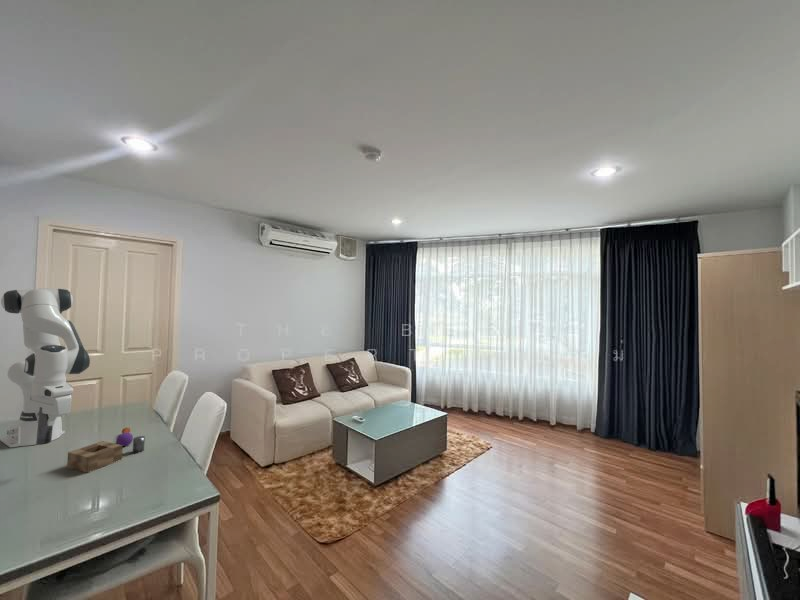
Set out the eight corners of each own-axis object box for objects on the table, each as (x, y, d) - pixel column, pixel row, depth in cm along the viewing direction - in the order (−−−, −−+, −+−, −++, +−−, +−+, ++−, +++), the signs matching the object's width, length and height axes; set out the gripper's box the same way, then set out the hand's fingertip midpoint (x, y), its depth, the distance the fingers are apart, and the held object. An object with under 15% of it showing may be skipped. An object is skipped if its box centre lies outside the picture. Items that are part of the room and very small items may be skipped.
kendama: (135, 424, 166) (134, 434, 151) (131, 437, 165) (130, 448, 150) (120, 424, 163) (118, 434, 147) (116, 437, 162) (113, 448, 146)
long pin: (33, 443, 123) (37, 406, 124) (47, 439, 127) (50, 404, 128) (40, 445, 122) (43, 408, 123) (53, 441, 126) (57, 405, 127)
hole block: (66, 467, 129) (68, 452, 129) (102, 455, 141) (102, 441, 141) (87, 473, 126) (88, 457, 126) (121, 459, 137) (122, 445, 137)
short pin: (130, 452, 144) (131, 438, 144) (139, 448, 148) (140, 435, 148) (136, 453, 143) (137, 440, 143) (146, 450, 147) (146, 436, 147)
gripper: (21, 386, 125) (17, 422, 125) (55, 393, 120) (51, 431, 119) (42, 382, 131) (39, 417, 131) (76, 389, 126) (73, 425, 125)
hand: (45, 424), depth 125 cm, fingers closed on long pin, 4 cm apart
